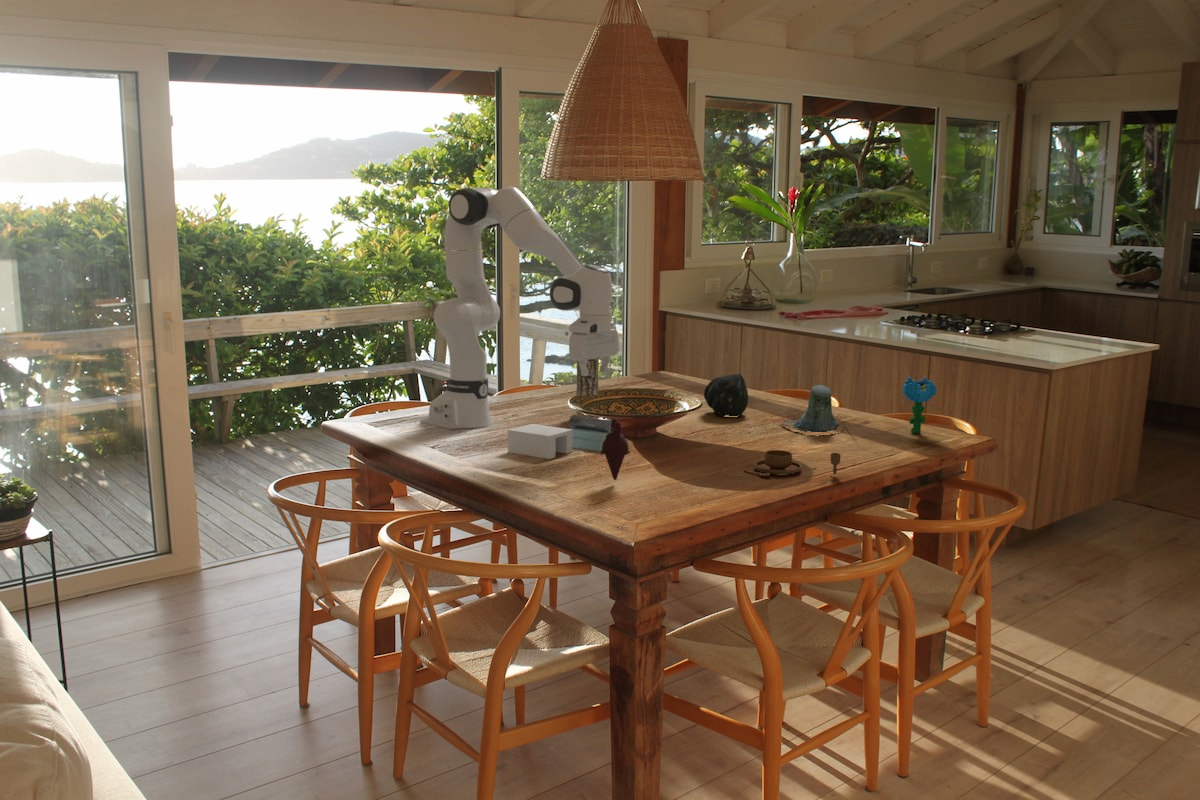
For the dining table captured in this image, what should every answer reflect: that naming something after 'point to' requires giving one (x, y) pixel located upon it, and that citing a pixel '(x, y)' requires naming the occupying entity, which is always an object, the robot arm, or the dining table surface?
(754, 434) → the dining table surface
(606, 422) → the axle
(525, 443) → the white notched block
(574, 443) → the v block
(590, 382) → the bark textured pillar
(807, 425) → the green grey mushroom
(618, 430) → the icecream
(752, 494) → the dining table surface
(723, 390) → the squash
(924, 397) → the toy flower
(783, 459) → the place setting
